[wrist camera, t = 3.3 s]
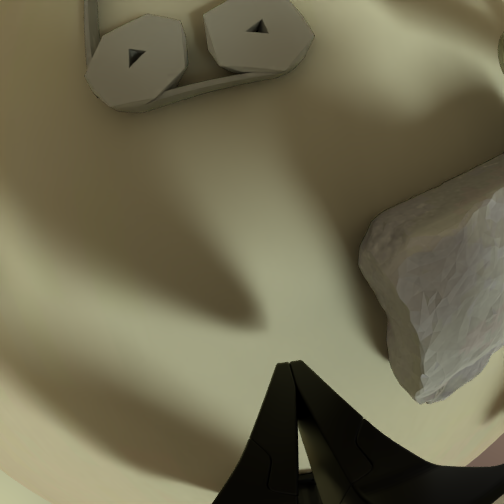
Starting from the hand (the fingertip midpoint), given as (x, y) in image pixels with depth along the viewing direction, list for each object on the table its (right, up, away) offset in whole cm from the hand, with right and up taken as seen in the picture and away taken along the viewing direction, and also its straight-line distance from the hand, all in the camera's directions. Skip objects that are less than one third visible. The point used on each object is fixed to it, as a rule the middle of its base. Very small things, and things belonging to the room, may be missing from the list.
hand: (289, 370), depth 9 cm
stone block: (+9, +3, +1) cm, 10 cm away
